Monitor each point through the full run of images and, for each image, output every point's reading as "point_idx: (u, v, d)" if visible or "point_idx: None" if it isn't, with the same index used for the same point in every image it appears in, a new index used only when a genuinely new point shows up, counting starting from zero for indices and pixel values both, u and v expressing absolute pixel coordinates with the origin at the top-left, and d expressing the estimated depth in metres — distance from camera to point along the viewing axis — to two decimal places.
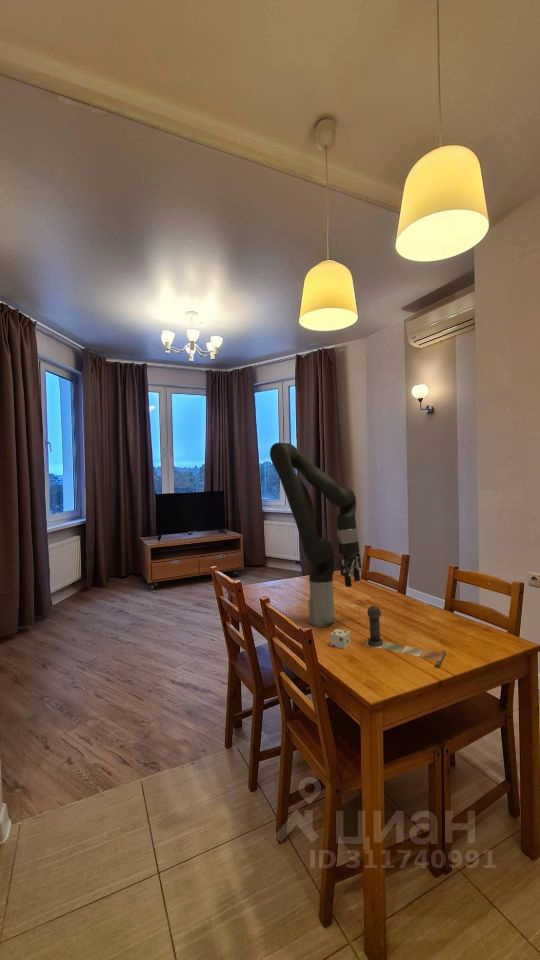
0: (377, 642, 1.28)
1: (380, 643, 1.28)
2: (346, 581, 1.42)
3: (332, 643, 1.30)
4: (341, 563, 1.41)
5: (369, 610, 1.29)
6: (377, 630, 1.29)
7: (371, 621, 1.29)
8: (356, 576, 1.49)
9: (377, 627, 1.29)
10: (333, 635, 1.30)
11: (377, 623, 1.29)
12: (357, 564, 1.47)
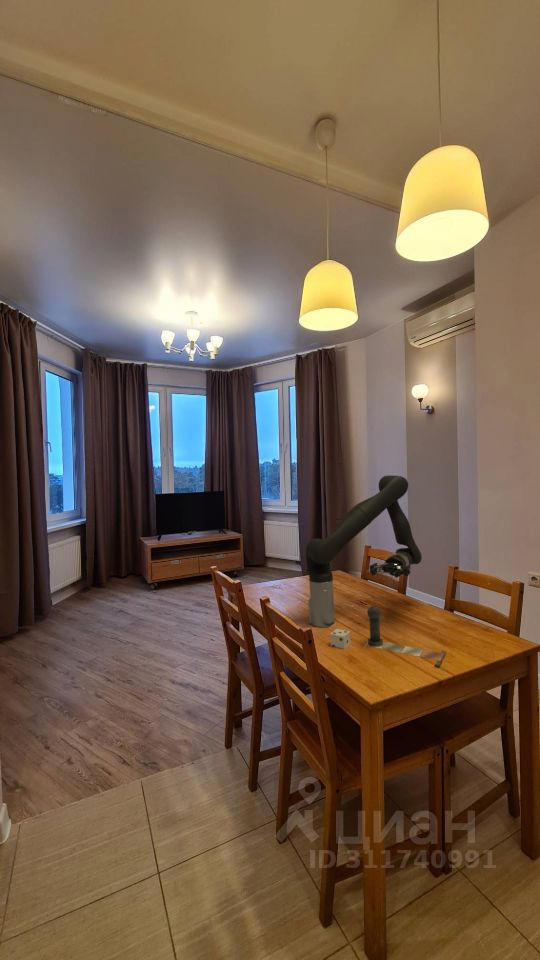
0: (377, 642, 1.28)
1: (380, 643, 1.28)
2: (400, 573, 1.39)
3: (332, 643, 1.30)
4: (410, 568, 1.44)
5: (369, 610, 1.29)
6: (377, 630, 1.29)
7: (371, 621, 1.29)
8: (375, 571, 1.44)
9: (377, 627, 1.29)
10: (333, 635, 1.30)
11: (377, 623, 1.29)
12: (384, 573, 1.47)
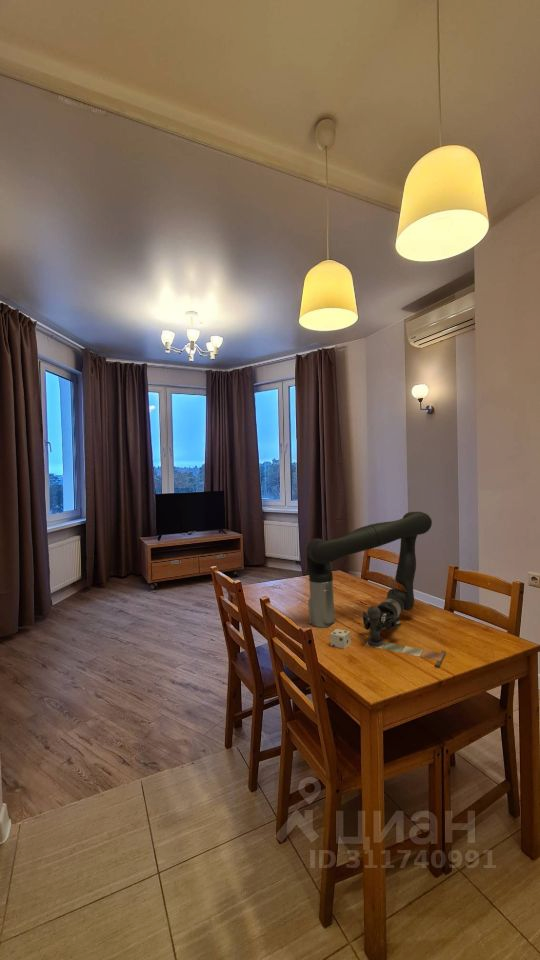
0: (377, 642, 1.28)
1: (380, 643, 1.28)
2: (382, 626, 1.28)
3: (332, 643, 1.30)
4: (397, 620, 1.31)
5: (369, 610, 1.29)
6: None
7: (371, 621, 1.29)
8: (369, 625, 1.30)
9: None
10: (333, 635, 1.30)
11: (377, 623, 1.29)
12: None
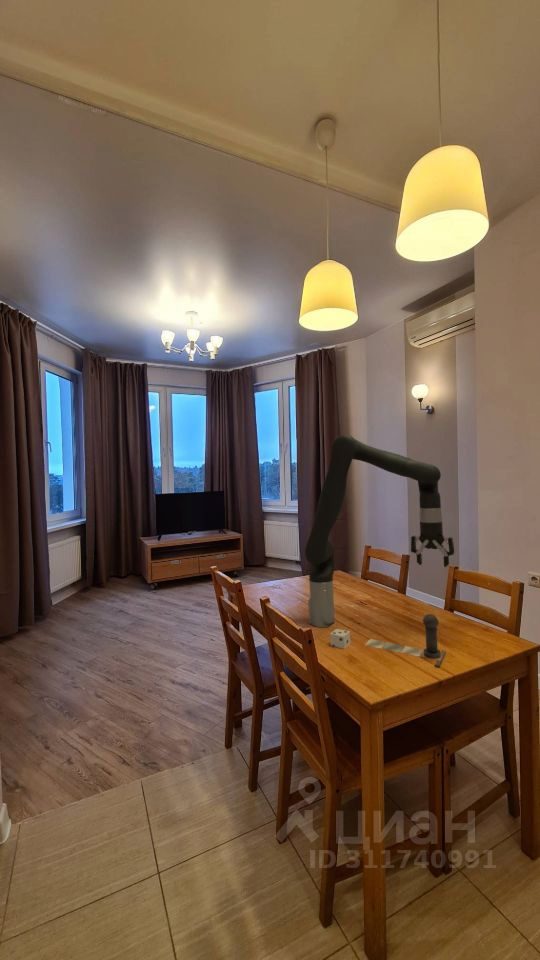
0: (435, 653, 1.18)
1: (438, 655, 1.18)
2: (448, 560, 1.36)
3: (332, 643, 1.30)
4: (452, 541, 1.35)
5: (426, 619, 1.19)
6: (435, 641, 1.19)
7: (428, 631, 1.19)
8: (421, 559, 1.41)
9: (435, 637, 1.19)
10: (333, 635, 1.30)
11: (435, 633, 1.19)
12: None
